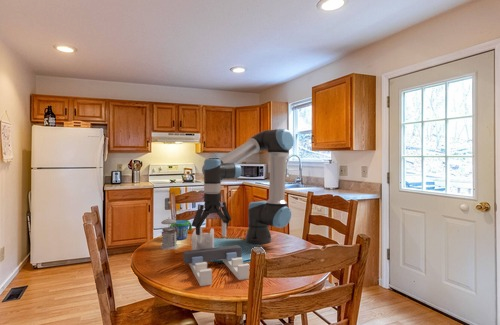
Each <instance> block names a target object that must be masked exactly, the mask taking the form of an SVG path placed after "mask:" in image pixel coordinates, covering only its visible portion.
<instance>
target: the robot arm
mask: <svg viewBox="0 0 500 325" xmlns="http://www.w3.org/2000/svg"><path fill="white" fill-rule="evenodd" d="M294 143H295V142H294V137H293V134H292V133H291V131H290V130H288V129H285V128H277V129H266V130H263V131H260V132H258V133H257V134H255V135H253V136H251V137H249V138H248V139H247V140H246V142H245V143H243V144H241V145H239V146H238V147H236V148H234V149H232V150H231V151H229V152H227V153H226V154H224V155H223V156H221V157H219V158H206V159H205V160H204V163H203V165H202V167H201V168H202V169H201V173H202V174H203V192H204V194H203V201H204V204H200V203H199V204H198V205H197V210H196V212H195V216H194V217H193V220H192V222H191V226H192V227H193V228H194V227H195V229H196V235H197V242H200V243H202V233H203V227H202V225H203V224H204V222H205V220H206V219H207V218H208V216H209V215H210V214H217V215H218V217H219V218H220V219H221V221H222V222H221V237H222V238H227V230H228V228H229V227H228V225H229V223H230V222H231V221H232V218H231V215H230V214H229V210H228V208H227V205H226V202H225V201H221V196H222V193H220V192H221V189H222V188H221V186H222V185H221V184H222V180H230V179H232V180H234V179H239V178H240V177H241V175H242V174H243V171H242V166H241V165H240V163H241V162H242V161H244V160H245V159H247V158H249V157H250V156H251V155H254V154H259V153H260V152H264V151H267V154H268V155H269V157H270V158H269V161H270V162H269V163H270V164H269V189H268V190H269V192H268V199H267V200H260V201H259V200H258V201H251V202H250V203H249V204H248V209H247V211H248V216H247V217H248V228H247V232H246V234H245V241H247V243H248V242H249V244H254V245H256V244H257V245H264V244H269V243H271V242H272V235H271V232H270V229H269V226H270V227H274V228H281V229H282V228H285V227H286V226H287V225H288V224H289V223H290V221H291V219H292V211H291V208H290V207H288V202H287V201H286V200H285V194H286V193H285V192H286V167H287V166H286V165H287V162H286V161H287V160H286V159H287V156H288V155H289V154H290V150H291V149H292V148H293V147H294Z"/></svg>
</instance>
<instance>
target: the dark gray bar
mask: <svg viewBox="0 0 500 325" xmlns="http://www.w3.org/2000/svg"><path fill="white" fill-rule="evenodd" d="M231 252H236V253H237V258H240V257H242V246H240V245H239V244H235V245H228V246H217V247H214V248H208V249H199V250H192V249H190V250H183V253H182V254H183V256H182V258H183V264H184V265H189V264H190V263H192V257H198V256H202V257H203V262H212V261H213V262H214V261H220V260H221V259H226V253H231ZM221 261H222V260H221Z"/></svg>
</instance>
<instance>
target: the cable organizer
mask: <svg viewBox="0 0 500 325" xmlns="http://www.w3.org/2000/svg"><path fill="white" fill-rule="evenodd" d="M190 241H191V250H199V249H208V248H215V229H214V228H210V230H209V232H202V243H200V242H197V235H196V228H195V229H194V230H193V232H192V235H191V236H190Z"/></svg>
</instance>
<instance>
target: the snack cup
mask: <svg viewBox="0 0 500 325" xmlns="http://www.w3.org/2000/svg"><path fill="white" fill-rule="evenodd" d="M175 221H176V223H174V224H169V228H173V227H174V225H175V227H174V228H175V229H176V230H174V231H176V237H177V238H176V240H179V241H180V240H185V239H187V238H188V232H189V231H191V232H192V229H193V226H192V222H190V221H189V220H187V219H185V220H184V219H183V220H182V219H179V220H178V219H177V220H175ZM176 227H177V228H176ZM177 229H178V236H177ZM173 235H174V233H173Z"/></svg>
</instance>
